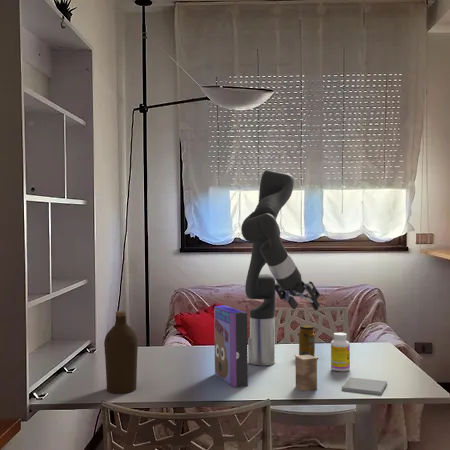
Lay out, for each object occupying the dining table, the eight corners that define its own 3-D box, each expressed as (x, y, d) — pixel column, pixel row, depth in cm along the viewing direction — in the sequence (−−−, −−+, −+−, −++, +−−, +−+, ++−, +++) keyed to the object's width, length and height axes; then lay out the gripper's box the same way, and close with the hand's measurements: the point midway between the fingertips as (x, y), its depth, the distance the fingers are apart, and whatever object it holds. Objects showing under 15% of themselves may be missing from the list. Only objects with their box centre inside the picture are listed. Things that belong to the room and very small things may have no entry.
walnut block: (303, 391, 179) (302, 359, 179) (295, 386, 184) (295, 356, 184) (317, 389, 181) (316, 358, 181) (309, 385, 186) (309, 354, 185)
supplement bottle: (350, 372, 200) (349, 336, 200) (330, 371, 201) (330, 335, 201) (349, 367, 207) (349, 332, 206) (331, 366, 208) (330, 331, 208)
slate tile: (341, 390, 180) (341, 387, 180) (350, 380, 191) (350, 377, 191) (380, 394, 175) (380, 391, 175) (386, 384, 186) (386, 381, 186)
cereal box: (214, 374, 199) (214, 305, 199) (227, 372, 201) (226, 304, 201) (234, 388, 183) (233, 313, 183) (247, 386, 185) (247, 312, 185)
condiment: (312, 354, 227) (311, 324, 227) (320, 359, 219) (319, 328, 219) (294, 355, 226) (294, 325, 226) (302, 360, 217) (302, 329, 217)
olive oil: (131, 395, 176) (130, 314, 176) (99, 393, 179) (98, 313, 178) (143, 385, 187) (142, 309, 186) (113, 383, 189) (112, 308, 189)
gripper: (308, 261, 170) (330, 300, 177) (271, 261, 180) (293, 298, 187) (297, 278, 166) (319, 317, 173) (260, 278, 176) (283, 315, 183)
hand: (306, 307), depth 180 cm, fingers open, 8 cm apart
